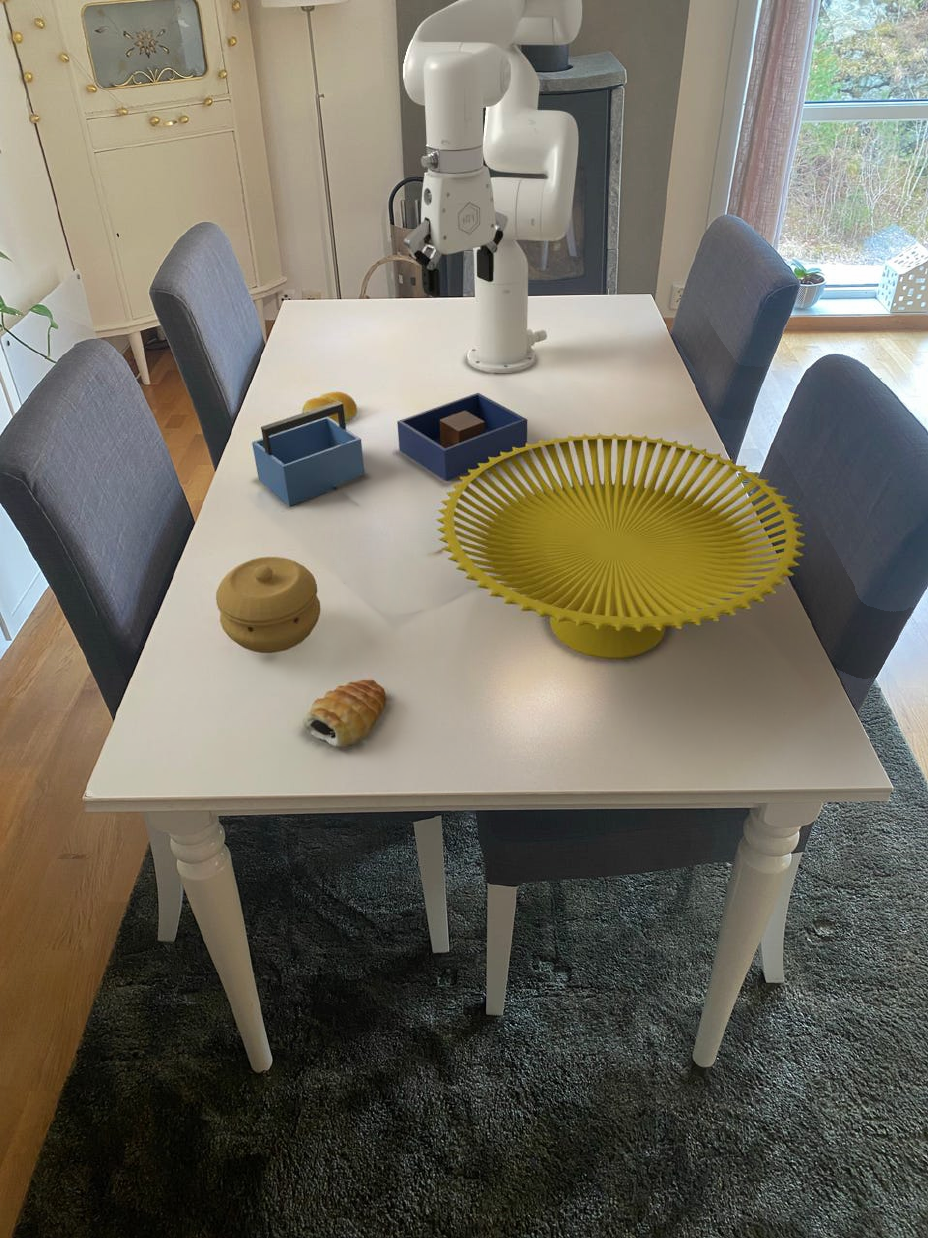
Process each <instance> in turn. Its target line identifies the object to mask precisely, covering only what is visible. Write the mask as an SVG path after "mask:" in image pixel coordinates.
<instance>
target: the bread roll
mask: <svg viewBox="0 0 928 1238" xmlns="http://www.w3.org/2000/svg"><path fill="white" fill-rule="evenodd" d="M338 401H340V402H341V403H343V406H344V415H345V423H347V422H350V421H352V420H353V419H354V418H356V416H357V412H358V406H357V404H356V402H355V400H354V399H353V398H352V396H350V395H349V394H348V393H345V392H342V391H332V392H327V393H324V394H321V395H319V396H318V397H314V398H311V399H308V400H307V401H306V402H305V403H304V404H303V406H302V410H301V413H304V412H307V411H310V410H313V409H317V408H320V407H323V406H326V405H329V404H332V403H335V402H338ZM327 417H329V418H331V419H332V420H334V421H335V422H337V423H338V424H339V419H338V413H336V414H333V415H330V416H327Z"/></svg>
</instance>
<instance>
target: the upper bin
mask: <svg viewBox="0 0 928 1238" xmlns="http://www.w3.org/2000/svg"><path fill="white" fill-rule="evenodd" d="M336 413H338V419H339V424H338V423H337V422H335V421H334V420H332V419H331V418H329V417H327V416H330V415H333V414H336ZM346 424H347V423H346V421H345V415H344V406H343V403H341V402H340V401H338V402H335V403H332V404H329V405H326V406H323V407H320V408H317V409H313V410H310V411H307V412H304V413H302V412H301V413H299V414H295V415H293V416H289V417H286V418H283V419H281V420H278V421H274V422H272V423H268V424H265V425H262V426H260V431H261V436H262V438H260V439H257V440H254V441H252V442H251V444H252V451H253V457H254V461H255V466H256V472H257V477H258V481H259V482H261V484H263V485H264V486H265V487H266V488H267V489H268V490H270V491H271V492H272V493H273V494H274V495H276V496H277V497H278V498H279V499H280V500H282V501H283V502H284V503H285V504H286V505H288V506H289V507H291V506H294V505H296V504H299V503H301V502H304V501H307V500H309V499H312V498H315V497H317V496H320V495H323V494H326V493H327V492H330V491H332V490H336V489H338V487H337V486H338V485H341V484H344V483H346V482H348V481H351V480H354V479H356V478H359V477H361V476H362V477H363V476H364V475H365V473H366V472H365V463H364V455H363V445H362V439H361V437H359V436H358V435H356V434H355V433H353V432H352V431H350V430H348V429H347V425H346Z"/></svg>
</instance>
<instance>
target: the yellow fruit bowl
mask: <svg viewBox="0 0 928 1238" xmlns="http://www.w3.org/2000/svg"><path fill="white" fill-rule="evenodd" d="M585 440H586V441H587V445H588V450H589V455H590V462H591V470H592V483H591V480H590V476H589V472H588V468H587V461H586V456H585V450H584V441H585ZM598 440H601V441H602V449H603V483H602V480H601V474H600V464H599V463H600V462H599V453H598V449H599V448H598ZM613 440H616V446H617V447H616V470H615V479H614V483H613V479H612V446H613ZM628 441H631V451H630V459H629V464H628V471H627V476H626V479H625V482H624V467H625V466H624V465H625V457H626V449H627V444H628ZM569 442H572V443H573V446H574V449H575V453H576V457H577V462H578V465H579V470H580V476H581V482H580V479H579V477H578V473H577V471H576V468H575V465H574V461H573V458H572V457H573V456H572V453H571V448H570V444H569ZM643 442H646V446H645V452H644V457H643V461H642V465H641V469H640V472H639V476H638V479H637V482H636V484H635V476H636V470H637V464H638V460H639V455H640V451H641V447H642V444H643ZM555 444H558V445H559V448H560V450H561V452H562V455H563V458H564V460H565V463H566V467H567V470H568V473H569V477H570V480H571V484H570V482H569V480H568V477H567V475H566V473H565V472H564V469H563V466H562V463H561V461H560V458H559V455H558V451H557V448H556V445H555ZM658 444H659V445H660V444H661V447H660V449H659V454H658V456H657V460H656V463H655V465H654V468H653V471H652V474H651V476H650V479H649V481H648V483H647V485H646V480H647V477H648V472H649V468H650V465H651V462H652V459H653V456H654V453H655V450H656V449H657V448H656V447H657V446H658ZM544 446H545V449H546V451H547V453H548V455H549V457H550V459H551V461H552V464H553V466H554V469H555V471H556V473H557V476H558V479H559V481H560V483H559V481H558V480H557V478H556V476H554V474H553V471H552V469H551V468H550V466H549V464H548V461H547V459H546V456H545V455H544V452H543V449H542V447H544ZM672 447H673V448H675V450H674V452H673V455H672V458H671V460H670V463H669V465H668V467H667V469H666V470H665V473H664V475H663V477H662V479H661V481H660V484H659V485H658V487H657V488H656V486H657V482H658V480H659V477H660V474H661V472H662V469H663V467H664V464H665V462H666V460H667V457H668V455H669V453H670V451H671V450H672ZM512 449H513V451H512V452H508V453H505V452H500V454H501V456H499V457H496V458H494V457H488V458H489V460H490V462H488V463H478V465H479V466H480V468H477V469H475V470H469V469H468V471H469V472H468V473H469V475H467V476H459V479H460V480H461V482H460V483H452V484H451V486H452V487H453V488H454V489H455V490H454V491H447V492H445V494H446V495H447V496H448V497H450V498H448V499H445V500H441V501H440V502H441V503H442V504H443V505H445V507H446V508H443V509H437V511H438V512H439V513H441V514H443V515H444V516H443V517H440V518H436V519H435V520H436V521H437V522H439V523H440V524H442V525H443V526H441V527H439V528H436V530H437V531H438V532H440V533H442V534H444V536H442V537H440V538H438V540H439V541H441V542H443V543H444V544H445V543H446V544H448V545H446V546H445V547H443V548H442V550H444V551H445V552H448V553H451V554H452V555H451V556H450V557H448V558H447V560H449V561H452V562H456V563H459V565H458V566H457V567H455V569H456V570H459V571H461V572H467V575H466V576H465V577H464V579H466V580H471V581H476V582H478V584H477V585H476V588H479V589H486V590H489V591H490V593H489V595H488V596H489V597H497V598H504V599H505V601H504V604H505V605H518V606H520V607H521V608H520V610H519V611H520V612H532V611H533V612H537V613H538V615H537V617H538V618H544V617H549V624H550V628H551V630H552V632H553V634H554V636H555V637H556V638H557V639H558V640H559V641H560V642H561V643H562V644H564V645H565V646H566V647H568V648H569V649H572V650H573V651H575V652H577V653H580V654H583V655H585V656H587V657H588V656H589V657H593V658H599V659H607V660H609V659H611V660H615V659H627V658H632V657H636V656H639V655H641V654H645V653H646V652H648V651H650V650H652V649H654V648H655V647H656V646H657V645H658V644H659V643H660V642H661V640H662V639H663V637H664V635H665V632H666V629H667V627H672V628H675V629H678V630H679V629H680V630H681V629H682V628H683V625H684V624H690V625H691V624H692V625H695V626H701V625H702V622H701V621H703V620H706V621H714V622H719V621H720V619H719V616H720V615H725V616H736V612H735V610H750V609H752V607H751V606H750V604H749V603H751V602H753V603H754V602H765V599H764V597H762V595H772V594H777V591H776V590H775V589H774V588H773V587H775V586H782V585H786V584H787V583H786V582H785V581H784V580H782V579H783V578H786V577H791V576H794V575H795V573H793V572H792V571H790V570H789V568H793V567H797V566H800V563H798V562H796V561H795V560H794V559H796V558H799V557H802V556H804V554H803V553H802V552H799V551H798V550H796V549H798V548H801V547H803V546H805V545H806V544H805V543H802V542H800V541H798V540H797V539H799V538H803V537H805V535H806V534H805V533H802V532H800V531H798V530H796V529H798V528H800V527H801V526H803V525H804V524H802V523H798V522H797V521H794V519H796V518H798V517H799V516H800V514H798V513H793V512H790V511H789V510H791V508H793V506H794V505H793V504H787V503H785V502H783V501H784V500H785V499H787V497H788V496H787V495H780V494H777V493H776V492H777V491H778V489H779V487H772V486H768V485H767V484H768V483H769V481H770V479H763V478H758V477H757V475H758V473H759V472H756V471H755V472H752V471H748V470H746V468H747V465H737V464H734V463H733V462H734V459H725V458H723V457H721V453H709V452H707V448H703V449H702V448H701V449H697V448H694V447H693V444H692V443H690V444H686V445H684V444H679V443H678V440H675V441H666V440H663V437H660V438H657V439H653V438H649V437H648V435H644V436H641V437H637V436H633V435H632V434H631V433H629V434H627V435H626V436H624V435H623V436H621V435H618V434H616V433H615V432H614V433H613V434H612V435H606V434H605V435H604V434H601V433H600V432H598V434H596V435H588V434H585V433H583V434H582V436H572V435H571V434H568V435H567V437H566V438H558V437H555V436H554V437H553V439H552V440H543V439H539V440H538V442H537V443H533V444H532V443H528V442H527V443H526V447H522V448H515V447H512ZM529 450H532V452H533V454H534V455H535V457H536V459H537V460H538V462H539V464H540V466H541V467H542V470H543V472H544V473H545V475H546V477H547V479H548V481H549V484H550V485H549V484H548V483H547V481H546V480H545V479H544V478H543V476H542V474H541V472H540V471H539V468H538V467H537V466H536V464H535V462H534V461H533V459H532V456H531V455H530V452H529ZM687 451H689V454H688V456H687V458H686V461H685V462H684V464H683V466H682V467H681V469H680V470H679V473H677V476H676V478H675V479H674V480H673V483H672V484H671V486H670V487H669V488H668V489H667V487H668V485H669V483H670V480H671V479H672V476H673V474H674V472H675V471H676V468H677V467H678V464H679V463H680V461H681V459H682V457H683V456H684V454H685V453H686V452H687ZM517 454H519V455H520V456H521V458H522V460H524V462H525V464H526V465H527V468H529V470H530V472H531V473H532V474H533V476H534V478H535V480H536V482H537V483H538V485H537V484H536V483H535V482H534V480H533V479H532V478H531V477H530V475H529V474H528V472H527V471H526V470H525V468H524V466H523V465H522V463H521V462H520V460H519V459H518V457H517ZM700 455H701V456H703V457H702V458H701V460H700V462H699V464H698V465H697V467H696V469H695V470H694V471H693V473H692V475H690V477H689V479H688V480H687V481H686V483H685V484H684V485H683V487H682V488H680V490H679V491H678V489H679V487H680V486H681V484H682V482H683V481H684V479H685V477H686V476H687V474H688V472H689V470H691V468H692V467H693V464H694V463H695V461H696V460H697V459H698V458H699V456H700ZM505 459H508V460H509V462H510V463H511V465H513V467H514V468H515V469H516V470H517V472H518V473H519V474H520V476H521V478H522V479H523V480H524V482H525V483H526V484H527V485H528V487H529V488H530V489H528V488H527V487H526V486H525V485H524V484H523V483H522V481H521V480H520V479H519V477H517V475H515V473H514V472H513V470H512V469H511V467H509V465H508V464H507V462H506V461H505ZM713 460H715V461H716V462H715V464H714V465H713V467H712V468H711V469H710V471H709V472H708V473H707V474H706V476H705V477H704V478H703V480H702V481H701V482H700V483H699V484H698V485H697V487H696V488H695V489H694V490H693V491H692V492H690V490H691V488H692V487H693V486H694V484H695V483H696V482H697V481H698V479H699V477H700V476H701V475H702V474H703V472H704V471H705V470H706V468H707V467H708V466H709V465H710V464H711V462H712V461H713ZM495 465H497V466H499V468H500V469H501V470H502V471H503V472H504V473H505V475H506V476H507V477H508V478H509V479H510V480H511V481H512V483H514V485H515V486H516V487H517V489H518V490H519V491H518V490H516V488H514V487H513V486H512V485H511V483H510V482H509V481H507V480H506V479H505V477H504V476H503V475H502V474H501V473H500V472H499V471H498V469H497V468H496V467H495ZM725 466H728V468H727V469H726V470H725V471H724V473H723V474H722V475H721V476H720V477H719V478H718V479H717V481H716V482H714V484H712V486H711V487H710V488H709V489H708V490H707V491H706V492H705V493H704V494H703V495H701V496H700V497H699V498H698V496H699V495H700V494H701V493H702V491H703V490H704V489H705V488H706V487H707V486H708V484H709V483H711V481H712V480H713V479H714V478H715V476H717V474H718V473H719V472H720V471H721V470H723V468H724V467H725ZM486 470H487V471H488V473H490V474H491V475H492V476H493V477H494V478H495V479H496V480H497V481H498V482H499V483H500V484H501V485H502V486H503V487H504V488H505V489H506V490H507V491H508V492H509V493H510V494H511V496H513V497H511V496H510V495H509V494H508V493H506V492H505V491H504V490H503V489H501V487H499V486H498V485H497V483H495V482H494V481H493V480H492V479H491V478H490V477H489V476H488V475H487V473H486V472H485V471H486ZM737 472H738V473H740V474H739V475H738V476H737V477H736V478H735V479H733V481H732V482H731V483H730V484H729V485H728V486H727V487H726V488H724V490H722V491H721V492H720V493H719V494H718V495H717V496H716V497H714V498H712V499H711V500H709V499H710V498H711V497H712V496H713V495H714V494H715V493H716V492H717V491H718V490H719V489H720V488H721V487H722V486H723V485H724V484H725V483H726V482H728V480H730V478H731V477H732V476H734V475H735V474H736V473H737ZM477 477H478V478H479V479H481V480H482V481H483V482H484V483H486V484H487V486H489V488H491V489H492V490H493V491H495V493H497V494H498V495H499V496H500V498H499V497H498V496H497V495H496V494H494V493H493V492H491V491H490V490H488V488H486V486H484V485H483V484H482V483H481V482H480V481H479V480H477ZM747 479H750V481H748V483H747V484H746V485H745V486H743V487H742V488H741V489H739V491H737V492H736V493H735V494H734V495H732V496H731V497H730V498H729V499H727V500H726V501H724V502H723V503H721V504H720V505H718V504H719V503H720V502H721V501H722V500H723V499H724V498H726V497H727V496H728V495H729V494H730V493H731V492H733V491H734V490H735V489H736V488H738V486H740V485H741V484H742V483H743V482H745V481H746V480H747ZM581 483H582V484H581ZM469 484H470V485H472V486H473V487H475V488H476V489H478V490H479V491H480V492H481V493H482V494H484V495H485V496H486V497H488V498H489V499H490V500H491V501H492V502H494V503H495V504H496V505H497V506H496V505H495V504H493V503H491V502H490V501H488V500H487V499H485V498H484V497H482V495H480V494H478V493H477V492H476V491H475V490H474V489H472V488H471V487H470V486H469ZM645 485H646V487H645ZM539 486H540V487H539ZM758 486H759V487H760V488H759V489H758V490H757V491H756V492H754V493H753V494H751V495H750V496H748V497H747V498H746V499H744V500H743V501H742V502H740V503H738V505H735V506H734V507H732V508H730V509H728V508H729V507H730V506H732V505H733V504H734V503H736V502H737V501H738V500H739V499H740V498H742V497H743V496H745V495H747V494H748V493H749V492H750V491H752V490H753V489H755V488H756V487H758ZM530 490H531V491H530ZM666 490H667V491H666ZM677 491H678V492H677ZM464 492H465V493H467V494H468V495H469V496H471V497H472V498H474V499H475V500H476V501H477V502H479V503H480V504H482V505H483V506H485V507H486V508H488V509H489V510H490V511H489V510H488V509H486V508H484V507H482V506H481V505H479V504H478V503H475V502H474V501H473V500H471V499H470V498H469V497H467V496H466V495H464V494H463V493H464ZM520 492H521V493H522V494H521V493H520ZM689 492H690V493H689ZM688 493H689V494H688ZM687 494H688V495H687ZM765 495H768V496H767V497H766V498H764V499H762V500H761V501H760V502H758V503H757V504H755V505H753V506H752V507H750V508H749V509H747V510H745V511H743V512H741V513H739V514H737V513H738V512H739V511H741V510H743V509H744V508H745V507H747V506H749V505H750V504H752V503H753V502H755V501H756V500H757V499H759V498H761V497H763V496H765ZM501 498H502V499H503V500H502V499H501ZM459 500H460V501H462V502H463V503H465V504H467V506H468V505H469V506H470V507H472V508H474V509H475V510H476V511H478V512H479V513H481V514H483V515H481V514H478V513H476V512H474V511H472V510H471V509H469V508H468V507H466V506H464V505H463V504H461V503H460V502H459ZM708 500H709V501H708ZM504 501H505V502H504ZM706 502H707V503H706ZM772 503H774V505H773V506H772V507H770V508H768V509H766V510H764V511H762V512H761V513H759V514H757V515H756V516H754V517H751V518H749V519H747V520H743V519H745V518H747V517H749V516H750V515H752V514H754V513H756V512H758V511H759V510H761V509H762V508H765V507H766V506H768V505H770V504H772ZM717 505H718V506H717ZM498 506H499V507H498ZM715 506H716V507H715ZM726 509H728V510H726ZM457 510H459V511H461V512H463V513H464V514H467V515H468V516H470V517H471V518H473V519H475V520H477V521H479V522H480V523H479V522H477V521H475V520H473V519H470V518H468V517H466V516H465V515H463V514H461V513H459V512H458V511H457ZM725 510H726V511H725ZM777 512H779V513H780V514H778V515H775V516H774V517H772V518H770V519H768V520H766V521H764V522H762V523H759V524H757V525H753V526H751V527H750V525H752V524H755V523H756V522H758V521H761V520H762V519H764V518H767V517H769V516H771V515H773V514H775V513H777ZM735 514H737V515H735ZM733 515H735V516H733ZM732 516H733V517H732ZM486 517H487V518H486ZM455 518H456V519H459V520H460V521H463V522H465V523H467V524H469V525H471V526H472V527H475V528H477V529H474V528H472V527H470V526H467V525H465V524H464V523H463V524H462V523H461V522H459V521H457V520H455ZM742 520H743V521H742ZM740 521H742V522H740ZM782 521H783V523H782V524H780V525H778V526H775V527H773V528H771V529H769V530H765V531H763V532H760V533H757V534H753V533H756V532H758V531H760V530H762V529H764V528H766V527H770V526H772V525H774V524H776V523H778V522H779V523H780V522H782ZM739 522H740V523H739ZM748 526H749V528H746V527H748ZM456 528H458V529H461V530H463V531H465V532H467V533H469V534H472V535H469V534H467V533H463V532H461V531H460V530H457V529H456ZM745 528H746V529H745ZM784 530H785V532H784V533H782V534H779V535H776V536H773V537H770V538H767V539H764V540H761V539H762V538H765V537H768V536H770V535H773V534H775V533H779V532H781V531H784ZM751 534H752V535H751ZM473 535H474V536H473ZM749 535H750V536H749ZM457 536H458V537H461V538H463V539H466V540H468V541H471V542H474V543H476V544H473V543H469V542H467V541H464V540H462V539H459V538H458V537H457ZM759 539H760V541H757V540H759ZM782 540H785V542H783V543H780V544H777V545H774V546H771V547H767V548H761V547H764V546H766V545H770V544H773V543H776V542H779V541H782ZM755 541H756V542H755ZM752 542H753V543H752ZM477 544H478V545H477ZM462 546H463V547H466V548H469V549H472V551H471V550H468V549H465V548H462ZM758 548H761V549H758ZM473 550H475V551H473ZM779 550H783V551H782V552H778V553H774V554H771V555H766V556H761V555H763V554H767V553H771V552H775V551H779ZM468 555H469V556H468ZM759 555H760V556H759ZM470 556H472V557H476V558H480V559H475V558H471V557H470ZM756 556H759V557H756ZM482 559H483V560H482ZM776 559H778V561H776V562H771V563H766V564H759V563H763V562H767V561H770V560H776ZM753 564H755V565H753ZM756 564H757V565H756ZM477 565H480V566H483V567H480V566H477ZM771 568H773V569H772V570H767V571H762V572H760V571H759V570H764V569H771ZM754 571H759V572H754ZM487 573H488V574H487ZM489 574H492V575H489ZM760 577H761V578H762V577H764V578H763V579H755V580H754V579H752V578H760ZM751 579H752V580H751ZM749 585H754V586H753V587H751V586H750V587H749ZM745 586H748V587H745ZM738 593H740V594H738ZM727 599H728V600H727ZM713 604H714V605H713Z"/></svg>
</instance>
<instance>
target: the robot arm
mask: <svg viewBox="0 0 928 1238" xmlns="http://www.w3.org/2000/svg"><path fill="white" fill-rule="evenodd" d="M582 20H583V1H582V0H457V1H455V2H453V3H451V4H449V5H448V6H445V7H444V8H442V9H439V10H438V11H436V12H435V13H433V14H431V15H429V16H427V18H425V19H424V20H423V21H422V22H421V23H420V24H419V26H418V27H417V29H416V31H415V32H414V34H413V37H412V39H411V40H410V42H409V45H408V48H407V51H406V54H405V57H404V63H403V69H402V70H403V73H402V74H403V75H402V76H403V84H404V89H405V91H406V94H407V95H408V97H409V98H410V100H412V102H414V103H415V104H417V105H420V106H424V111H425V113H424V114H425V128H426V129H425V131H426V132H425V134H426V135H425V136H426V155H423V156H421V158H420V162H421V166H422V167H423V168H427V171H425V173H424V177H423V181H422V190H421V206H420V207H421V208H420V223H419V224H418V225H417V227H415V228H414V229H413V230H412V231H411V232H410V233H408V235H407V236H405V238H404V240H403V243H404V245H405V248H406V249H407V251H408V252H409V255H410V257H411V259H413V260H414V261H415V262H416V263H417V265H418V266H420V267H421V281H422V282H421V284H422V289H423V292H424V294H426V295H428V296H431V297H433V298H435V299H437V298H439V297H440V296H441V286H440V285H441V284H440V270H439V268H437V267H436V266H437V264H438V263H439V261H440V259H441V256H442V255H453V254H456V253H460V252H464V251H468V250H473V271H474V272H473V273H474V274H473V275H474V277H473V279H474V281H473V282H474V336H475V337H474V339H475V341H474V342H475V346H474V347H472V348H470V350H469V351H468V352H467V356H466V357H467V363H468V364H469V365H470V366H471V367H472V368H474V369H475V370H478V371H481V372H485V373H490V374H491V373H493V374H509V373H511V374H512V373H516V372H520V371H524V370H525V369H528V368H530V367H531V366H532V365H533V364H534V363H535V361H536V352H535V351H534V349H533V348H532V347H533V346H534V345H535V343H540V342H543V341H546V340H547V338H548V334H547V332H546V330H545V329H540V330H536V331H535V332H533V330H532V329H531V328H528V315H529V314H528V311H529V310H528V309H529V307H528V305H529V263H528V259H527V257H526V254H525V252H524V251H523V249H522V247H521V246H520V244H519V243H518V241H536V242H537V241H539V242H542V241H543V242H554V241H560V240H562V239H564V237H565V236H566V235H567V233H568V231H569V229H570V226H571V220H572V211H573V204H574V195H575V194H574V193H575V185H576V175H577V167H578V157H579V129H578V124H577V121H576V119H575V117H573V115H572V114H571V113H569V112H566V111H563V110H555V109H553V110H551V109H549V110H548V109H538V107H539V95H540V87H541V85H540V84H541V83H540V79H539V76H538V74H537V72H536V70H535V68H534V66H532V63H531V62H530V61H529V60H528V58H527V57H526V55H525V54H524V53H523V52H522V51H521V50H520V49H519V47H518V46H522V45H523V46H564V45H569V44H570V43H572V42H574V40H575V39H576V38H577V36H578V34H579V32H580V29H581V26H582ZM484 108H486V109H485V117H484V111H483V109H484ZM484 118H485V120H484ZM484 163H485V164H486V166H485V165H484ZM489 169H491V170H492V171H495V172H500V173H509V174H531V175H532V174H533V175H544V176H546V177H547V178H530V177H529V178H527V177H525V178H524V177H510V176H509V177H507V176H505V177H504V176H493V177H491V175H490V170H489ZM421 241H422V244H423V249H422V250H421V247H420V242H421Z"/></svg>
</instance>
